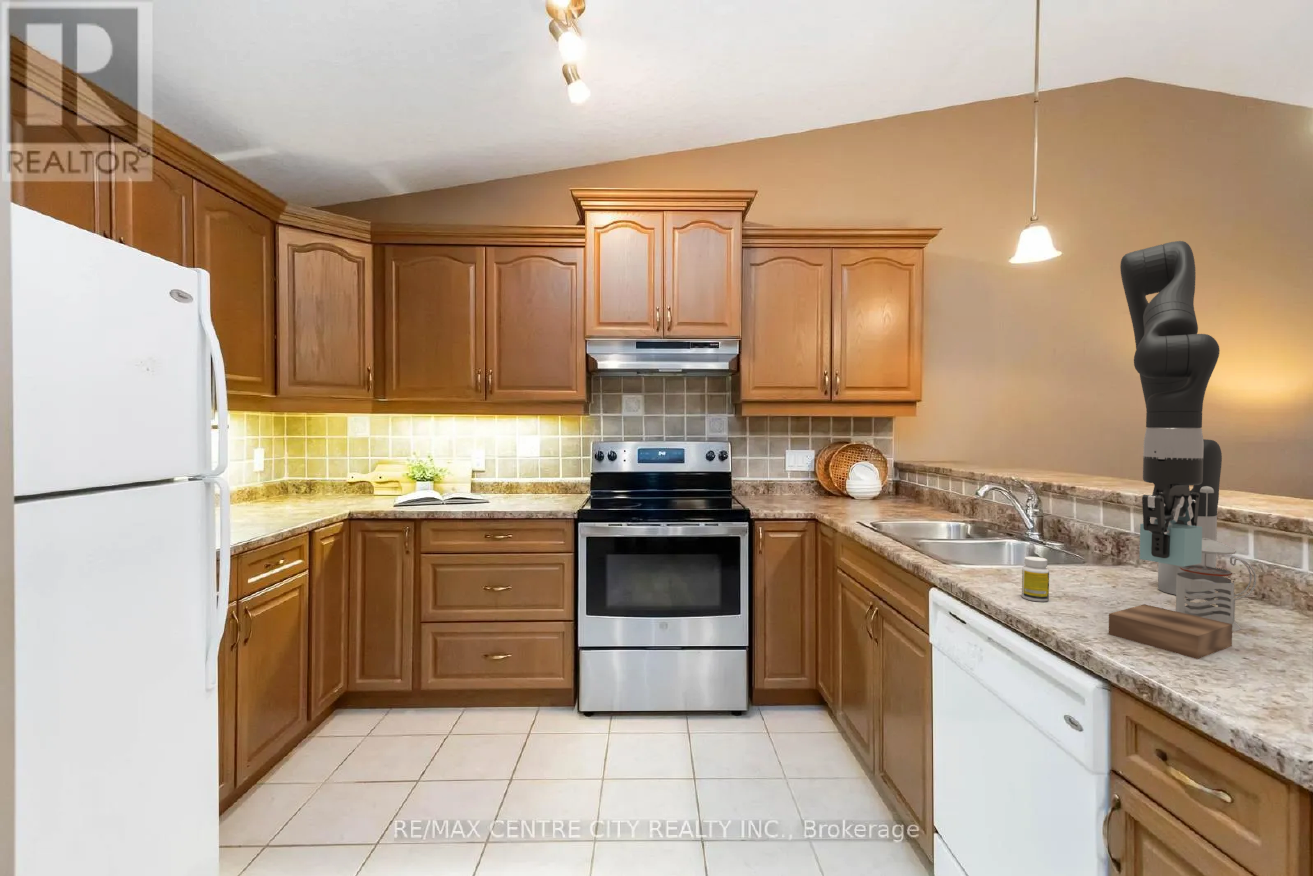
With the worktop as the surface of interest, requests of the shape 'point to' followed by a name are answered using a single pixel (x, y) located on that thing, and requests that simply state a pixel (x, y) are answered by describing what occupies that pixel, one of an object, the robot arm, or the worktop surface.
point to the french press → (1210, 583)
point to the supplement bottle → (1035, 579)
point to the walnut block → (1171, 630)
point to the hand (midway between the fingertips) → (1170, 554)
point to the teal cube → (1175, 545)
